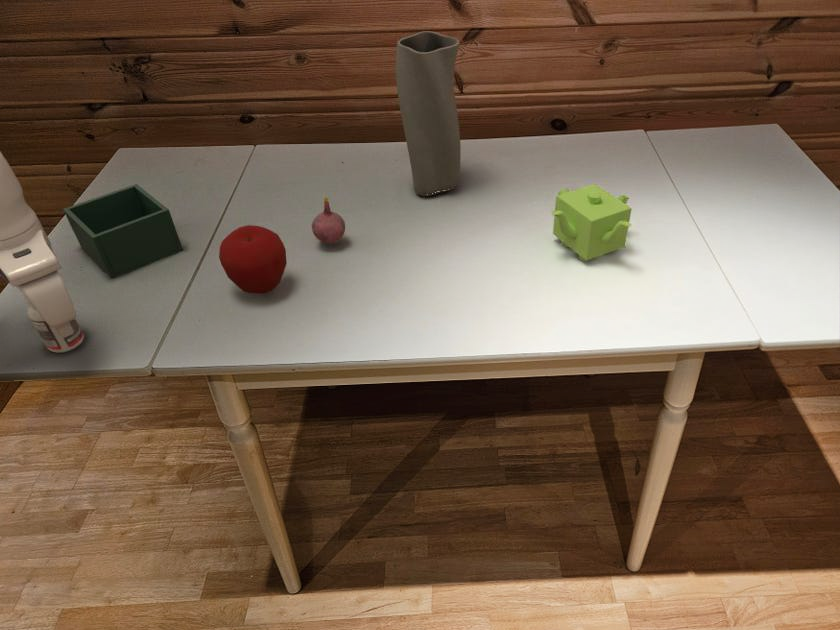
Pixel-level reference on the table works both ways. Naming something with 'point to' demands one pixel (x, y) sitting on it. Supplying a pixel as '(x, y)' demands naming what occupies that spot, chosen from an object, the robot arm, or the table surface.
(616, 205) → the green peg cube
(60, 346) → the pill bottle
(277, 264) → the apple
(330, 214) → the vegetable
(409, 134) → the vase
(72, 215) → the bin
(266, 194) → the table surface
